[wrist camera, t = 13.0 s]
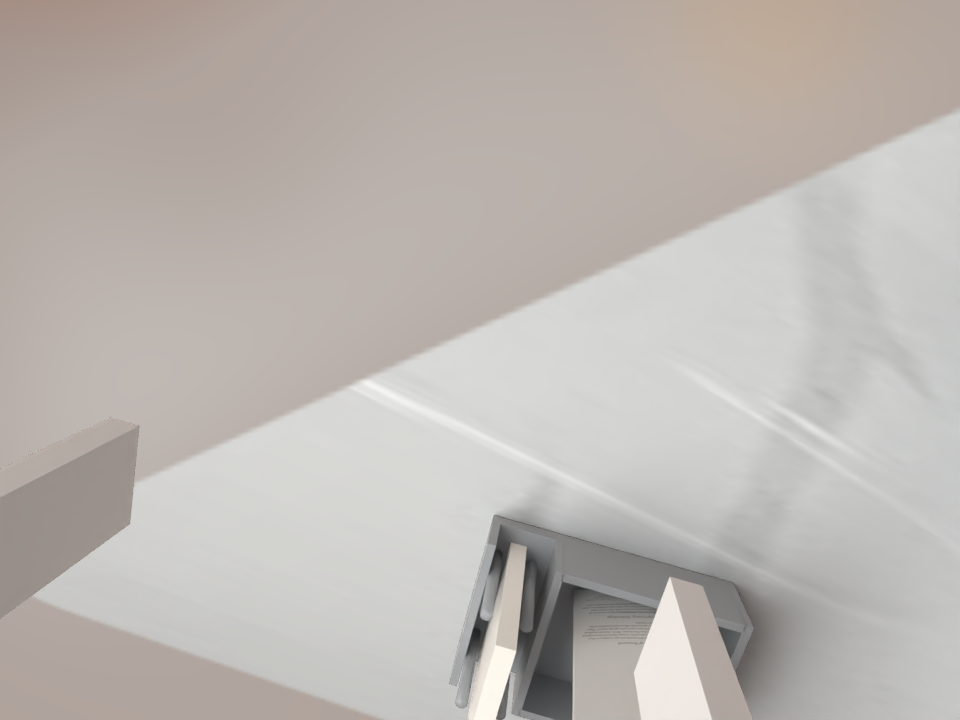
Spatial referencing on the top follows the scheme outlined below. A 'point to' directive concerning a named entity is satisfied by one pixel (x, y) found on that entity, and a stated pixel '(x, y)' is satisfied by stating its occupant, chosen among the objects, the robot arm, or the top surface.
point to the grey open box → (556, 616)
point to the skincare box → (607, 655)
